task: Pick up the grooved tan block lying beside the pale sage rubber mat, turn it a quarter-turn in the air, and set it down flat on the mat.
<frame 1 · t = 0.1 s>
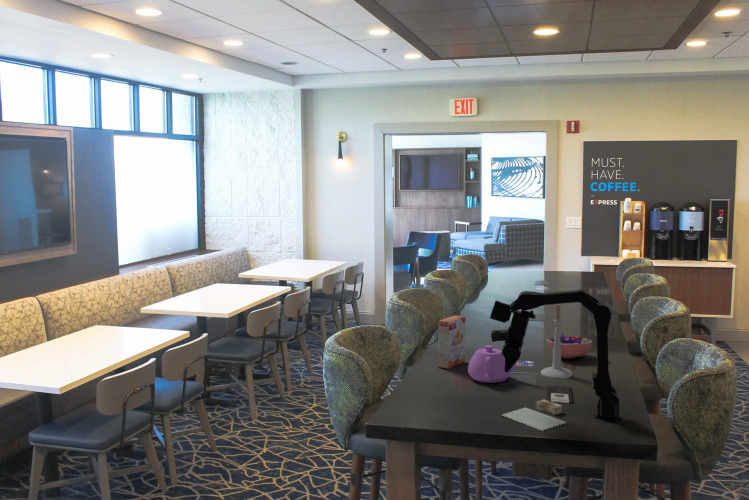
hand: (507, 368, 243), 15 cm above the table, tool pointing down, fingers open, 9 cm apart
sage mat: (533, 419, 235), on the table
cell model: (568, 358, 311), on the table
grooved tan block: (549, 411, 244), on the table
chocolate bar: (559, 396, 260), on the table
cracker box: (451, 365, 302), on the table
teapot: (494, 379, 281), on the table
candlestick: (556, 374, 286), on the table
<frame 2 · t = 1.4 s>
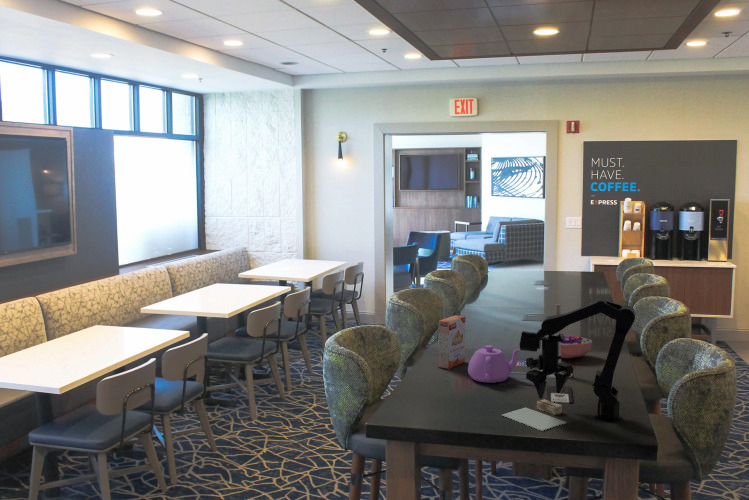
hand: (549, 395, 243), 5 cm above the table, tool pointing down, fingers open, 9 cm apart
nothing on the table moved.
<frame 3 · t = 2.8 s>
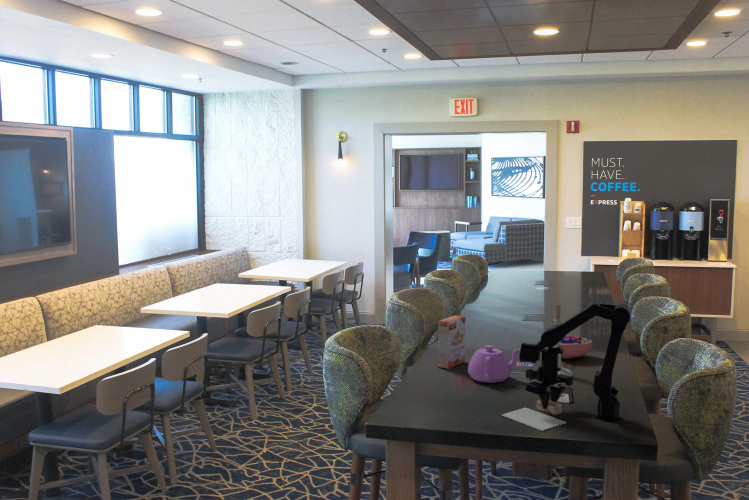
hand: (549, 407, 243), 1 cm above the table, tool pointing down, fingers closed on grooved tan block, 4 cm apart
grooved tan block: (549, 410, 243), on the table, touching gripper
everything else where it was.
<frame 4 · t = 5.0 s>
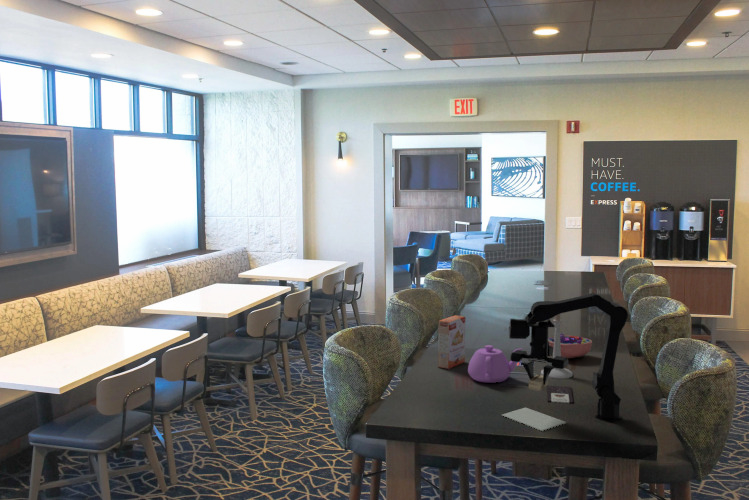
hand: (538, 383, 237), 12 cm above the table, tool pointing down, fingers closed on grooved tan block, 4 cm apart
grooved tan block: (538, 386, 237), point 11 cm above the table, touching gripper
everything else where it was.
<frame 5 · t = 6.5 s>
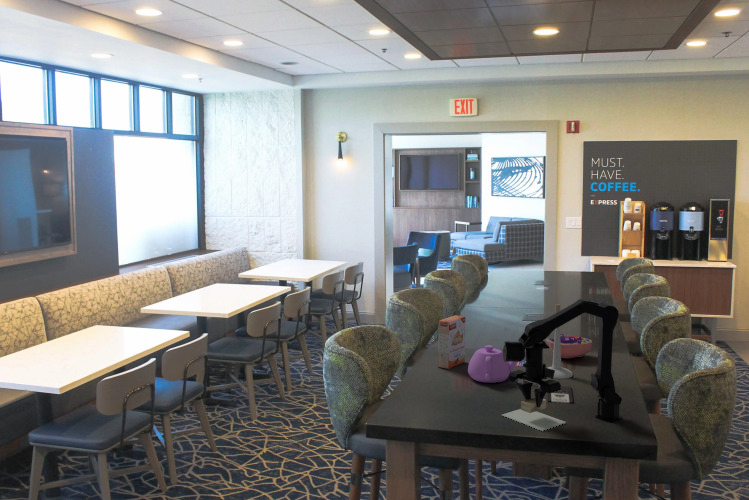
hand: (533, 405, 235), 5 cm above the table, tool pointing down, fingers closed on grooved tan block, 4 cm apart
grooved tan block: (533, 409, 235), point 4 cm above the table, touching gripper
everything else where it was.
when the fingers open (3 cm above the table, at t = 7.5 s): grooved tan block drops 2 cm, resting on sage mat.
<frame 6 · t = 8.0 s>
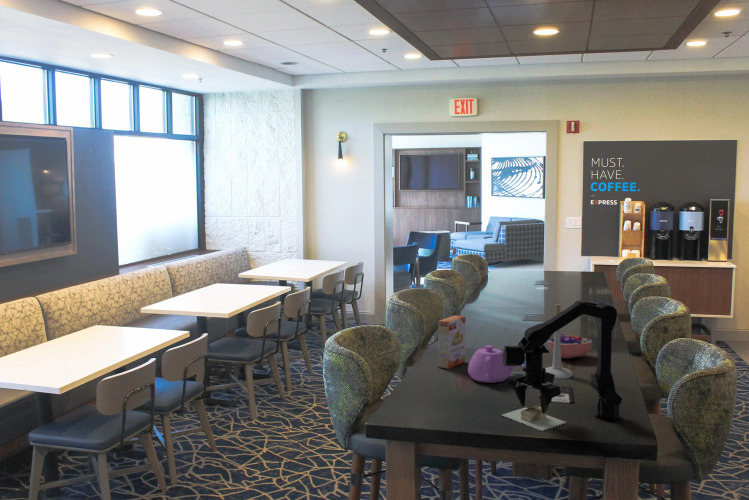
hand: (533, 409, 235), 3 cm above the table, tool pointing down, fingers open, 9 cm apart
grooved tan block: (533, 418, 235), resting on sage mat
everything else where it was.
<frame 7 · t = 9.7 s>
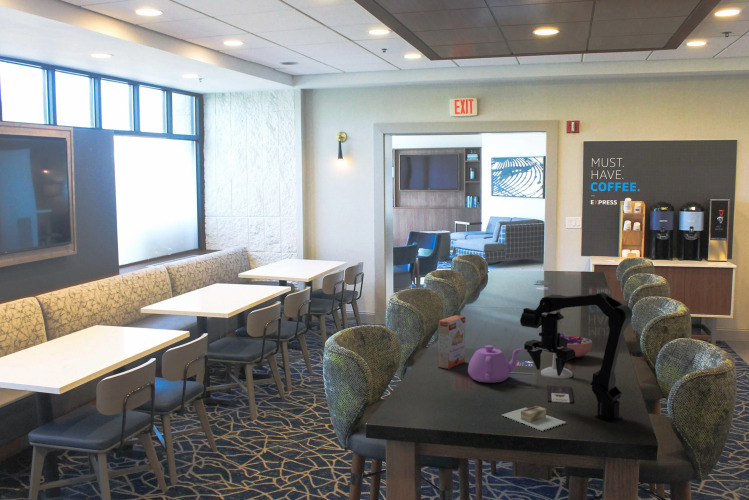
hand: (548, 372, 248), 12 cm above the table, tool pointing down, fingers open, 9 cm apart
nothing on the table moved.
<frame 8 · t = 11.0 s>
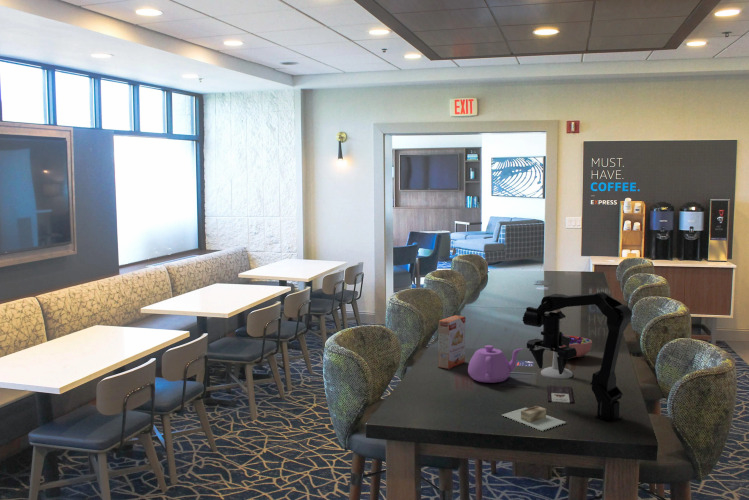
hand: (550, 371, 250), 12 cm above the table, tool pointing down, fingers open, 9 cm apart
nothing on the table moved.
at the end: grooved tan block inside the target area on the sage mat (0.0 cm from its centre), point 0.5 cm above the sage mat's base; the gripper is holding nothing; grooved tan block tilted 0° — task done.
